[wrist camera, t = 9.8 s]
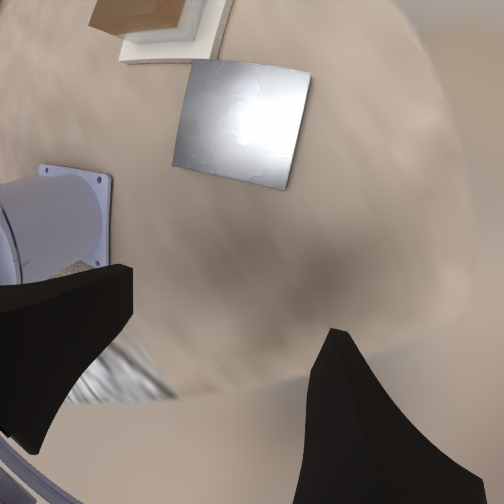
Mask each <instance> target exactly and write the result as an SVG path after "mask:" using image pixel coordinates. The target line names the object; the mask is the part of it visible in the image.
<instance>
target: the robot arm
mask: <svg viewBox="0 0 504 504" xmlns="http://www.w3.org/2000/svg"><path fill="white" fill-rule="evenodd" d="M100 177H101V182H100ZM110 192H111V177H110V176H109V175H108V174H105V173H99V172H93V171H88V170H82V169H76V168H69V167H63V166H57V165H50V164H40V166H39V172H38V175H37V176H32V177H28V178H24V179H20V180H16V181H12V182H8V183H5V184H1V185H0V431H1V432H2V433H3V434H5V436H6V437H7V438H9V437H11V438H12V439H13V440H15V442H17V443H18V444H19V445H20V446H21V447H22V448H23V449H24V450H25V451H26V452H27V453H29V454H31V455H37V454H39V451H40V448H41V446H42V443H43V441H44V438H45V436H46V434H47V431H48V429H49V427H50V425H51V423H52V421H53V419H54V417H55V415H56V413H57V412H58V410H59V408H60V406H61V405H62V403H63V401H64V400H65V398H66V396H67V395H68V393H69V392H70V390H71V389H72V387H73V386H74V384H75V383H76V382H77V380H78V379H79V377H80V376H81V375H82V373H83V372H84V371H85V370H86V369H87V368H88V366H89V365H90V364H91V363H92V362H93V361H94V360H95V359H96V358H97V357H98V356H99V355H100V354H101V353H102V351H103V350H104V349H105V348H106V347H107V346H108V345H109V344H110V343H111V342H112V341H113V340H114V339H115V338H116V336H117V335H118V334H119V333H120V332H121V330H122V329H123V328H124V326H125V325H126V324H127V322H128V321H129V319H130V318H131V316H132V315H133V268H131V267H128V266H125V265H123V264H113V265H109V209H110ZM77 261H81V262H83V263H86V264H88V265H90V266H93V267H95V269H91V270H87V271H83V272H79V273H75V274H71V275H67V276H63V277H58V278H54V279H49V278H50V277H52V276H54V275H55V274H57V273H59V272H60V271H62V270H64V269H65V268H67V267H69V266H71V265H72V264H74V263H76V262H77ZM98 262H99V263H100V264H99V263H98ZM47 279H49V280H47ZM0 459H1V460H2V462H4V463H5V465H6V466H8V467H9V469H11V470H12V471H13V472H14V473H15V474H16V475H17V476H18V477H19V478H20V479H21V480H22V481H23V482H25V483H26V484H27V485H28V486H29V487H30V488H31V489H33V490H34V491H35V492H36V493H37V494H39V495H40V496H41V497H42V498H44V499H45V500H46V501H47V502H49V503H50V504H84V503H82V502H80V501H79V500H77V499H76V498H74V497H73V496H71V495H70V494H68V493H67V492H66V491H64V490H63V489H61V488H60V487H59V486H57V485H56V484H55V483H53V482H52V481H51V480H49V479H48V478H47V477H45V476H44V475H43V474H42V473H40V472H39V471H38V470H37V469H36V468H34V467H33V466H32V465H31V464H30V463H28V462H27V461H26V460H25V459H24V458H23V457H22V456H21V455H19V454H18V452H16V451H15V450H14V449H13V448H12V447H11V446H10V445H9V444H8V443H7V442H6V441H5V440H4V439H3V438H2V437H1V436H0ZM36 502H37V500H36V498H34V497H33V496H32V495H31V494H30V493H29V492H28V491H27V490H26V489H25V488H24V487H23V486H22V485H20V484H19V483H18V482H17V481H16V480H15V479H14V478H12V477H11V476H10V475H9V474H8V473H7V472H6V471H4V470H3V469H2V468H1V467H0V504H36ZM293 504H487V500H486V495H485V489H484V483H483V481H482V479H481V478H479V477H478V476H476V475H474V474H473V473H471V472H470V471H468V470H466V469H465V468H463V467H462V466H460V465H458V464H457V463H456V462H454V461H453V460H452V459H450V458H449V457H448V456H446V455H445V454H444V453H443V452H441V451H440V450H439V449H438V448H437V447H436V446H434V445H433V444H432V443H431V442H430V441H429V440H428V439H427V438H426V437H425V436H424V435H423V434H422V433H420V431H419V430H418V429H417V428H416V427H415V426H414V425H413V424H412V423H411V422H410V421H409V420H408V419H407V418H406V416H405V415H404V414H403V413H402V412H401V410H400V409H399V408H398V407H397V406H396V404H395V403H394V402H393V401H392V399H391V398H390V397H389V395H388V394H387V393H386V391H385V390H384V388H383V387H382V386H381V384H380V383H379V381H378V380H377V378H376V377H375V375H374V374H373V372H372V370H371V369H370V367H369V366H368V364H367V363H366V361H365V359H364V358H363V356H362V354H361V353H360V351H359V349H358V348H357V346H356V344H355V343H354V341H353V339H352V338H351V336H350V335H349V333H348V332H346V331H342V330H338V329H334V328H330V331H329V333H328V335H327V337H326V339H325V342H324V344H323V346H322V348H321V350H320V353H319V355H318V357H317V359H316V361H315V363H314V365H313V367H312V369H311V373H310V379H309V385H308V392H307V403H306V424H305V442H304V453H303V461H302V466H301V470H300V475H299V480H298V484H297V488H296V492H295V496H294V500H293Z"/></svg>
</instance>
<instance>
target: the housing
mask: <svg viewBox="0 0 504 504" xmlns="http://www.w3.org/2000/svg"><path fill="white" fill-rule="evenodd" d="M206 2H207V0H98V1H97V3H96V6H95V8H94V11H93V14H92V16H91V19H90V22H89V25H88V26H91V27H94V28H96V29H99V30H102V31H104V32H107V33H109V34H112V35H114V36H116V37H119V38H121V39H123V40H126V41H128V42H130V43H132V44H135V45H140V44H151V43H167V42H194V41H195V38H196V34H197V31H198V27H199V24H200V21H201V17H202V14H203V11H204V8H205V5H206Z"/></svg>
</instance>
